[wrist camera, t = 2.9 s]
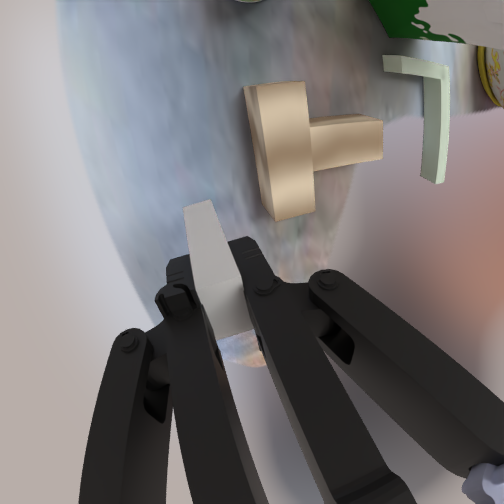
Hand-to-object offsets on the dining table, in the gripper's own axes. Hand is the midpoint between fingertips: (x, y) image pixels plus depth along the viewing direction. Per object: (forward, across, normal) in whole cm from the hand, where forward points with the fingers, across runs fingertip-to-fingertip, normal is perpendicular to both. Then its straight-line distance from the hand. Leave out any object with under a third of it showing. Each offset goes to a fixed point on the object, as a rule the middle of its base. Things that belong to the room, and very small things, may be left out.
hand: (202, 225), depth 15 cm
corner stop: (+11, +27, +1) cm, 29 cm away
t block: (+11, +12, 0) cm, 17 cm away
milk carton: (+11, +25, +16) cm, 32 cm away
